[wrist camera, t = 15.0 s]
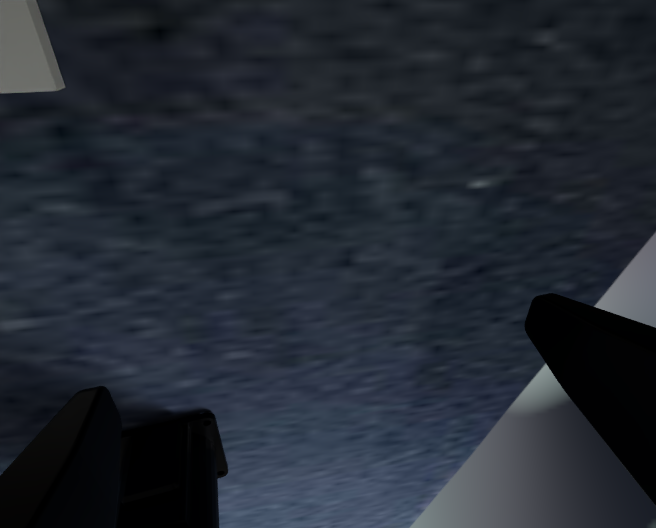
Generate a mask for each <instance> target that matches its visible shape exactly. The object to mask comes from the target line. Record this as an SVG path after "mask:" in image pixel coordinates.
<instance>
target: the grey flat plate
mask: <svg viewBox="0 0 656 528" xmlns="http://www.w3.org/2000/svg"><path fill="white" fill-rule="evenodd" d="M63 88H65V85H64V82H63V79H62V76H61V73H60V70H59V67H58V64H57V61H56V58H55V55H54V52H53V49H52V46H51V43H50V40H49V37H48V34H47V31H46V28H45V25H44V22H43V19H42V16H41V13H40V10H39V7H38V4H37V1H36V0H0V93H20V92H43V91H58V90H60V89H63Z"/></svg>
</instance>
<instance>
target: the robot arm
mask: <svg viewBox="0 0 656 528" xmlns="http://www.w3.org/2000/svg"><path fill="white" fill-rule="evenodd" d="M525 331H526V333H527V335H528V337H529V338H530V340H531V341H532V343H533V344H534V346H535V347H536V349H537V350H538V352H539V353H540V355H541V356H542V358H543V359H544V361H545V362H546V364H547V365H548V367H549V368H550V370H551V371H552V373H553V374H554V376H555V378H556V379H557V381H558V382H559V383H560V385H561V386H562V388H563V389H564V391H565V392H566V393H567V394H568V396H569V397H570V399H571V400H572V401H573V402H574V404H575V405H576V406H577V407H578V408H579V410H580V411H581V412H582V414H583V415H584V416H585V417H586V419H587V420H588V421H589V422H590V424H591V425H592V426H593V428H594V429H595V430H596V431H597V432H598V434H599V435H600V436H601V438H602V439H603V440H604V441H605V443H606V444H607V445H608V446H609V448H610V449H611V450H612V451H613V453H614V454H615V455H616V456H617V458H618V459H619V460H620V462H621V463H622V464H623V465H624V467H625V468H626V469H627V470H628V471H629V473H630V474H631V475H632V477H633V478H634V479H635V480H636V482H637V483H638V484H639V485H640V487H641V488H642V489H643V490H644V492H645V493H646V494H647V495H648V497H649V498H650V499H651V500H652V502H653V503H654V504H655V505H656V328H655V327H652V326H649V325H646V324H643V323H640V322H637V321H634V320H631V319H628V318H625V317H622V316H619V315H616V314H613V313H610V312H607V311H605V310H601V309H599V308H596V307H593V306H590V305H587V304H584V303H581V302H578V301H575V300H572V299H569V298H566V297H563V296H560V295H557V294H553V293H549V294H544V295H539V296H536V297H535V298H534V299H533V300H532V302H531V306H530V309H529V312H528V315H527V318H526V321H525ZM206 420H208V421H206ZM121 431H122V424H121V417H120V414H119V412H118V410H117V408H116V405H115V403H114V401H113V399H112V397H111V394H110V392H109V390H108V389H107V388H106V387H104V386H99V387H94V388H89V389H84V390H81V391H79V392H77V393H76V394H75V395H74V396H73V397H72V398H71V399H70V400H69V402H68V403H67V404H66V405H65V406H64V407H63V408H62V409H61V410H60V411H59V412H58V414H57V415H56V416H55V417H54V418H53V419H52V420H51V421H50V422H49V423H48V424H47V425H46V427H45V428H44V429H43V430H42V431H41V432H40V433H39V434H38V435H37V436H36V437H35V439H34V440H33V441H32V442H31V443H30V444H29V445H28V446H27V447H26V448H25V449H24V451H23V452H22V453H21V454H20V455H19V456H18V457H17V458H16V459H15V460H14V461H13V462H12V464H11V465H10V466H9V467H8V468H7V469H6V470H5V471H4V472H3V473H2V474H1V476H0V528H219V508H218V483H217V478H221V477H224V476H226V475H227V473H228V465H227V461H226V457H225V454H224V450H223V446H222V442H221V438H220V434H219V430H218V426H217V422H216V418H215V415H214V414H213V413H209V412H208V413H202V414H198V415H194V416H189V417H185V418H181V419H177V420H172V421H168V422H164V423H160V424H155V425H151V426H147V427H142V428H138V429H134V430H130V431H125V432H121Z"/></svg>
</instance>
